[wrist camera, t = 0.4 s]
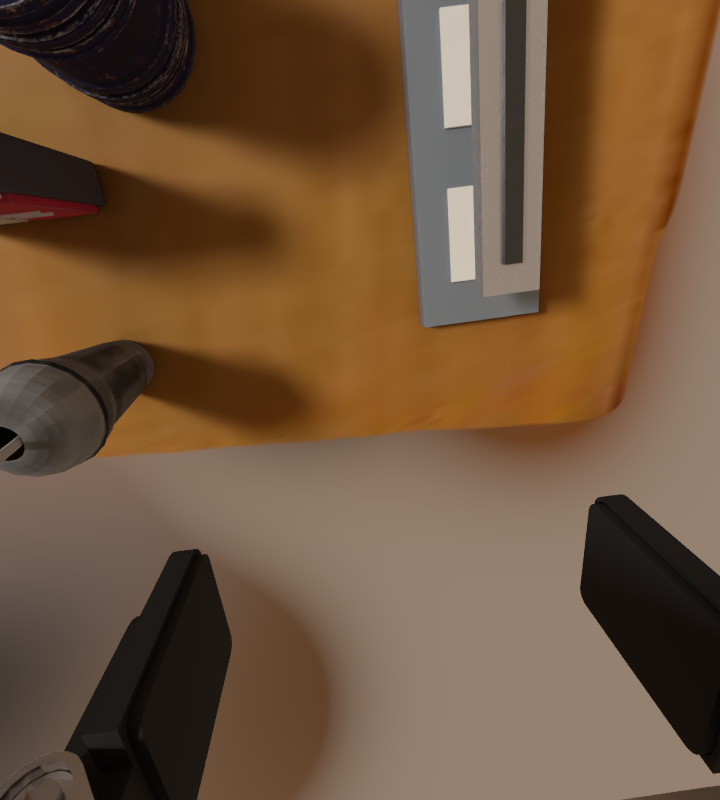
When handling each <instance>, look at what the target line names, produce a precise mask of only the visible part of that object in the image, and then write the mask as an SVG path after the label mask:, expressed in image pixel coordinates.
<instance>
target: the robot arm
mask: <svg viewBox="0 0 720 800" xmlns="http://www.w3.org/2000/svg"><path fill="white" fill-rule="evenodd" d="M580 591H581V596H582V599H583V601H584V603H585V604H586V606H587V607H588V608H589V610H590V612H591V613H592V614H593V616H594V617H595V618H596V620H597V622H598V623H599V624H600V626H601V627H602V628H603V630H604V631H605V633H606V634H607V636H608V637H609V638H610V640H611V641H612V643H613V644H614V646H615V647H616V648H617V650H618V651H619V653H620V654H621V655H622V657H623V658H624V660H625V661H626V662H627V664H628V665H629V667H630V668H631V670H632V671H633V672H634V674H635V675H636V677H637V678H638V679H639V681H640V682H641V683H642V685H643V686H644V688H645V689H646V691H647V692H648V693H649V695H650V696H651V698H652V699H653V701H654V702H655V703H656V705H657V706H658V708H659V709H660V710H661V712H662V713H663V715H664V716H665V717H666V719H667V720H668V722H669V723H670V724H671V726H672V727H673V729H674V730H675V731H676V733H677V734H678V736H679V737H680V739H681V740H682V742H683V743H684V744H685V745H686V747H687V748H688V749H689V750H690V751H691V752H692V753H694V754H696V755H697V754H699V755H700V756H701V758H702V759H703V760H704V762H705V763H706V765H707V766H708V767H709V769H710V770H711V771H712V773H713V774H714V773H720V576H719V575H718V574H717V573H716V572H714V571H713V570H712V569H711V568H710V567H709V566H707V565H706V564H705V563H704V562H703V561H701V560H700V559H699V558H698V557H697V556H696V555H695V554H693V553H692V552H691V551H690V550H689V549H687V548H686V547H685V546H684V545H683V544H682V543H681V542H679V541H678V540H677V539H676V538H675V537H674V536H672V535H671V534H670V533H669V532H668V531H667V530H665V529H664V528H663V527H662V526H660V524H658V523H657V522H656V521H655V520H654V519H653V518H651V517H650V516H649V515H648V514H647V513H646V512H644V511H643V510H642V509H641V508H640V507H638V506H637V505H636V504H635V503H634V502H633V501H632V500H630V499H629V498H628V497H627V496H625V495H621V494H620V495H612V496H606V497H605V496H604V497H599V498H597V499H596V500H595V504H592V505H591V506H590V508H589V514H588V523H587V532H586V541H585V550H584V559H583V569H582V577H581V586H580ZM231 640H232V639H231V634H230V630H229V627H228V623H227V620H226V616H225V613H224V609H223V605H222V602H221V599H220V595H219V591H218V588H217V584H216V581H215V577H214V574H213V570H212V567H211V563H210V559H209V557H208V555H207V554H203V555H201V552H200V551H199V550H198V549H193V550H185V551H177V552H173V553H172V554H171V555H170V557H169V559H168V561H167V563H166V565H165V567H164V569H163V571H162V573H161V575H160V577H159V579H158V581H157V583H156V585H155V587H154V589H153V591H152V593H151V595H150V597H149V599H148V601H147V603H146V605H145V607H144V609H143V611H142V613H141V615H140V616H137V617H136V618H135V619H133V620H132V621H131V623H130V624H129V626H128V628H127V630H126V632H125V634H124V635H123V638H122V639H121V641H120V643H119V645H118V647H117V649H116V651H115V653H114V655H113V657H112V659H111V661H110V663H109V665H108V667H107V669H106V671H105V672H104V675H103V676H102V679H101V680H100V682H99V684H98V686H97V688H96V690H95V692H94V694H93V696H92V698H91V700H90V702H89V704H88V706H87V708H86V710H85V712H84V713H83V715H82V717H81V719H80V721H79V723H78V725H77V727H76V729H75V731H74V733H73V735H72V737H71V739H70V741H69V743H68V745H67V746H66V748H65V750H64V751H57V752H52V753H49V754H47V755H44V756H41V757H39V758H37V759H35V760H34V761H32V762H31V763H29V764H27V765H25V766H24V767H22V768H21V769H20V770H19V771H17V772H16V773H15V774H14V775H13V776H11V777H10V778H9V779H8V780H7V781H6V782H5V783H4V784H3V785H2V786H1V787H0V800H197V796H198V792H199V788H200V784H201V780H202V775H203V771H204V766H205V762H206V758H207V753H208V749H209V745H210V741H211V736H212V732H213V728H214V723H215V719H216V715H217V711H218V706H219V702H220V697H221V693H222V689H223V685H224V680H225V676H226V671H227V668H228V663H229V659H230V655H231V647H232V641H231ZM623 800H720V786H714V787H705V788H699V789H692V790H685V791H678V792H671V793H665V794H657V795H651V796H644V797H637V798H630V799H623Z"/></svg>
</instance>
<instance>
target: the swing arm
mask: <svg viewBox="0 0 720 800" xmlns="http://www.w3.org/2000/svg"><path fill="white" fill-rule="evenodd" d="M547 15H548V0H469V36H470V78H471V119H472V161H473V202H474V244H475V285H476V295H479V296H481V297H488V296H496V295H503V294H510V293H518V292H525V291H532V290H539V289H540V256H541V221H542V187H543V152H544V118H545V84H546V49H547Z"/></svg>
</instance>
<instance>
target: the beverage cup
mask: <svg viewBox="0 0 720 800" xmlns="http://www.w3.org/2000/svg"><path fill="white" fill-rule="evenodd" d="M153 374H154V362H153V359H152V357H151V355H150V354H149V352H148V351H147V350H146V349H145V348H144V347H142V346H141V345H140V344H138V343H135V342H133V341H130V340H118V341H113V342H108V343H103V344H99V345H96V346H92V347H89V348H86V349H82V350H79V351H75V352H72V353H68V354H65V355H61V356H58V357H54V358H46V359H39V360H34V359H31V360H25V361H19V362H14V363H12V364H10V365H8V366H6V367H5V368H3V369H1V370H0V470H2V471H5V472H8V473H11V474H14V475H21V476H32V477H39V476H46V475H51V474H56V473H61V472H64V471H66V470H69V469H71V468H72V467H74V466H76V465H78V464H81V463H83V462H84V461H86V460H88V459H90V458H92V457H94V456H95V455H96V454H97V453H98V452H99V450H100V449H101V448H102V447H103V446H104V445H105V442H106V439H107V438H108V436H109V434H110V433H111V431H112V429H113V426H114V424H115V423H116V422H117V420H118V419H119V418H120V417H121V416H122V415H123V413H124V412H125V411H126V410H127V409H128V408H129V406H130V405H131V404H132V403H133V402H134V400H135V399H136V398H137V397H138V396H139V395H140V393H141V392H142V391H143V390H144V389H145V388H146V386H147V385H148V383H149V382H150V380H151V379H152V377H153Z"/></svg>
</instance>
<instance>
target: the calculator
mask: <svg viewBox="0 0 720 800" xmlns="http://www.w3.org/2000/svg"><path fill="white" fill-rule="evenodd" d="M104 204H105V202H104V198H103V195H102V191H101V188H100V184H99V181H98V178H97V174H96V171H95V168H94V165H93V163H92V162H90V161H87V160H84V159H81V158H78V157H75V156H72V155H69V154H66V153H62V152H59V151H56V150H53V149H50V148H47V147H44V146H41V145H38V144H35V143H32V142H29V141H25V140H22V139H19V138H16V137H13V136H10V135H7V134H4V133H1V132H0V225H2V224H10V223H19V222H27V221H29V220H45V219H54V218H63V217H72V216H80V215H89V214H97V213H99V212H98V209H97V206H102V205H104Z"/></svg>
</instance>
